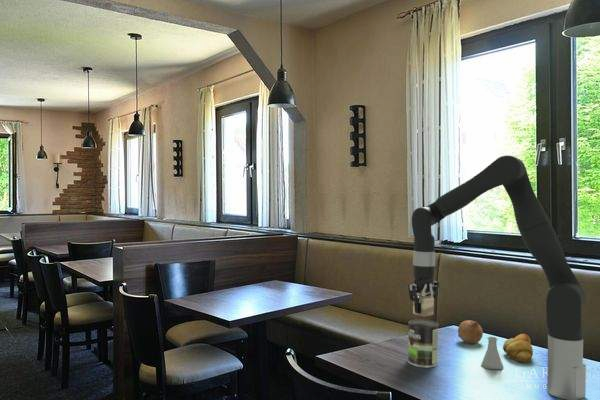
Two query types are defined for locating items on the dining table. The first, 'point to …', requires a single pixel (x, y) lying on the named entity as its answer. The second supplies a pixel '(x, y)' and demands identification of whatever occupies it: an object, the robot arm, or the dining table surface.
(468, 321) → the onion
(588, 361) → the dining table surface
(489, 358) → the flask
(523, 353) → the bread roll
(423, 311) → the maple block
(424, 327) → the coffee can
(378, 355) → the dining table surface
